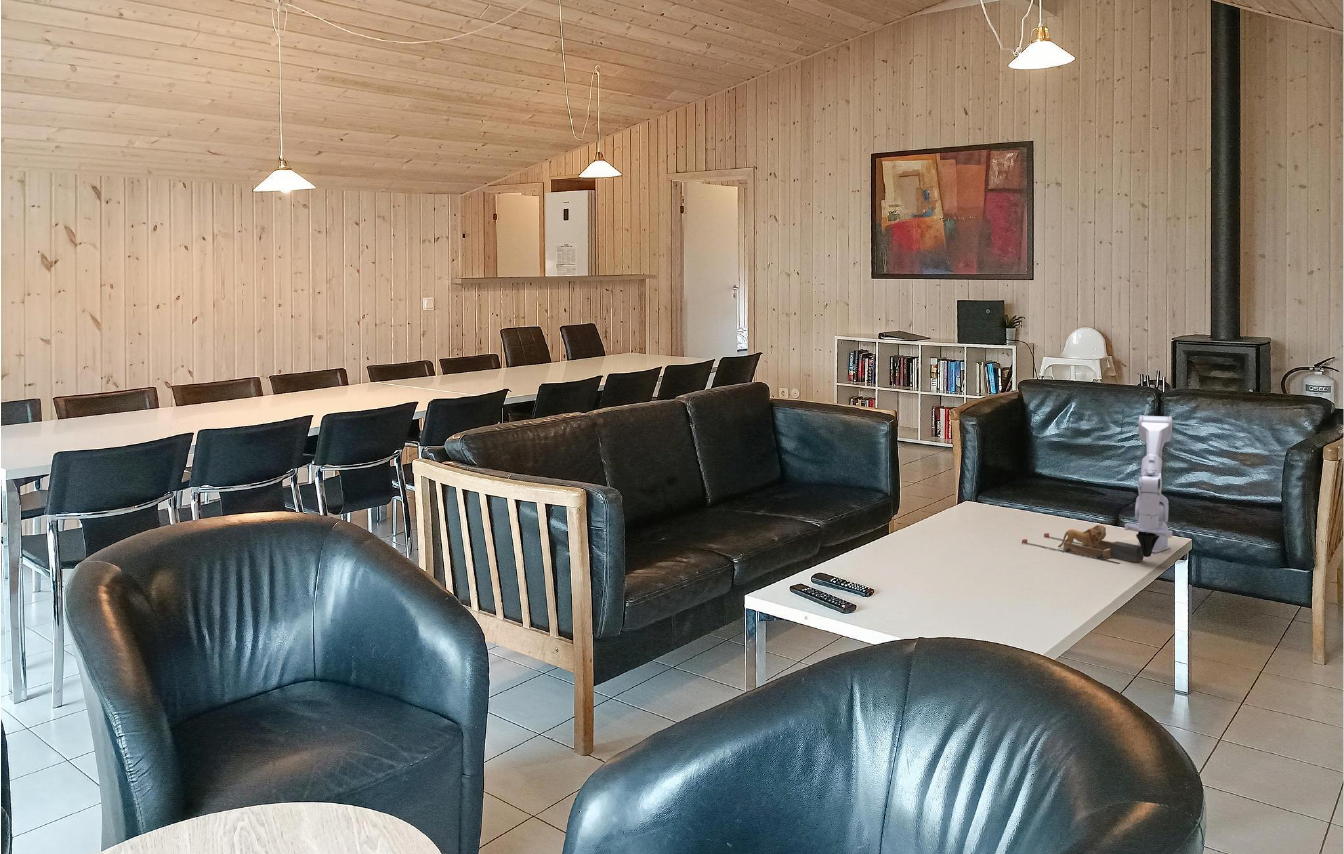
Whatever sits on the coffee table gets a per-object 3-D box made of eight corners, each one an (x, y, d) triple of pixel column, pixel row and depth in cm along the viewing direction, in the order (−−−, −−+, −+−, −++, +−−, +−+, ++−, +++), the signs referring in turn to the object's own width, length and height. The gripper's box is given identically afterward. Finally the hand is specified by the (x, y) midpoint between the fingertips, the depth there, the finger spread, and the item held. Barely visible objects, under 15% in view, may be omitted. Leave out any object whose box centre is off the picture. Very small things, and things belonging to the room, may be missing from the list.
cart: (1085, 543, 355) (1085, 530, 354) (1150, 557, 337) (1151, 543, 336) (1062, 550, 347) (1062, 537, 346) (1128, 564, 329) (1128, 551, 328)
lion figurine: (1105, 550, 348) (1106, 523, 346) (1105, 554, 343) (1106, 527, 341) (1058, 546, 354) (1059, 520, 352) (1056, 550, 349) (1057, 523, 347)
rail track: (1046, 536, 367) (1046, 532, 367) (1142, 556, 339) (1142, 552, 339) (1021, 543, 359) (1022, 539, 359) (1118, 564, 331) (1118, 560, 331)
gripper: (1119, 511, 332) (1118, 553, 334) (1164, 519, 320) (1162, 563, 322) (1132, 508, 336) (1130, 549, 338) (1176, 515, 325) (1174, 558, 327)
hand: (1147, 556), depth 331 cm, fingers closed
